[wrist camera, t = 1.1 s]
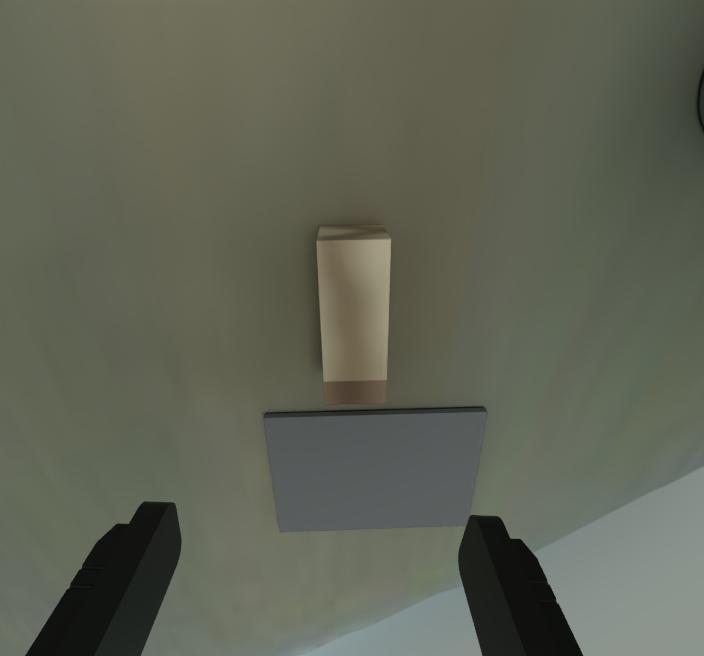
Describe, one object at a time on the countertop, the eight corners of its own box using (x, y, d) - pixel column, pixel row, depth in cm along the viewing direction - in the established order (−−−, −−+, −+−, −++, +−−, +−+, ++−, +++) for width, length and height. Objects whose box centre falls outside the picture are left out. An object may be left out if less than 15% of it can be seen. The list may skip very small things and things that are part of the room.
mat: (485, 407, 34) (487, 411, 34) (466, 520, 41) (467, 525, 40) (265, 413, 34) (263, 418, 33) (280, 526, 40) (279, 532, 40)
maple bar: (382, 224, 27) (391, 239, 23) (379, 367, 32) (385, 402, 28) (320, 225, 27) (316, 240, 23) (326, 369, 32) (324, 404, 28)
